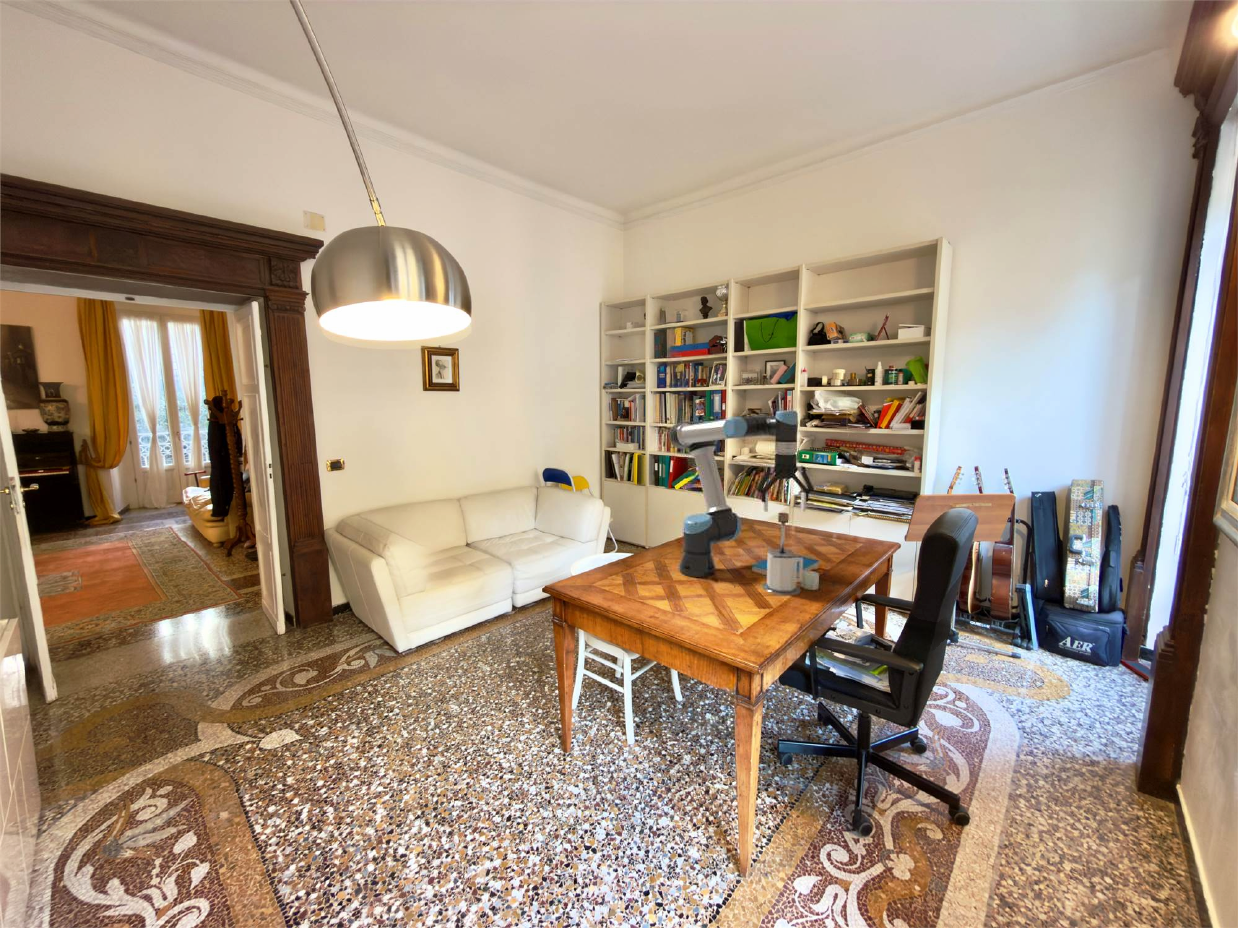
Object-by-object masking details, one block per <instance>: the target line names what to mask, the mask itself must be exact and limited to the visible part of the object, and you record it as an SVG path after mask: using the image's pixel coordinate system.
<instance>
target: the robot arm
mask: <svg viewBox="0 0 1238 928" xmlns="http://www.w3.org/2000/svg"><path fill="white" fill-rule="evenodd" d="M798 415H799V413H798V411H796V410H777V411H776V413H775V415H764V414H757V415H752V416H730V417H728V418H724V419H719V420H718V419H717V420H712V421H704V420H703V421H702V420H698V421H687V422H684V421H683V422H678V423H676V424H673V426H672V427H671V428H670V430H669V431H668V432H669V433H668V440H669V441H670V443H671V445H673V446H674V447H675V448H677V449H683V450H685V449H687V450H688V452H689V455H691V456H692V457H693V458H694V461H695V465H696V466H695V467H696V469H697V473H698V477H699V481H700V485H701V489H702V493H703V497H704V500H705V501H704V502H705V504H706V511H705V513H695V514H690V515H689V516H686V518H684V521H683V527H682V532H683V553H682V556H681V560H680V561H679V565H678V567H679V568H678V569H679V572H680V573H681V574H683V575H685V576H687V577H692V578H705V577H710V576H713V575H715V573H716V571H717V569H716V568H717V567H716V563H715V559H714V557H713V554H712V550H713V549H712V545H715V544H719V543H724V542H730V541H733V540H735V539H736V538H738V537H739V535H740V534H741V531H742V520H741V518H740V517H739V515H738V514H737V513H736V512H733V509H732V507H731V506H729V504H727V501H726V496H725V493H724V489H723V485H722V482H721V481H722V480H721V477H720V474H719V470H718V466H717V465H718V464H717V461H716V458H715V454H714V452H715V450H716V444H717V442H718V441H721V440H729V439H738V438H739V439H740V438H747V437H750V438H751V437H764V436H765V437H767V436H768V437H770V436H771V437H774V439H775V441H774V442H775V443H774V452H775V454H774V466H771V467H770V466H768V465H767V466H765V469H764V470H765V471H764V473H763V475H762V477H761V479H760V481H759V483H758V485H757V487H756V488H755V490H756V491H757V493H760V500H761V502H762V503H763V511H764V512H767V513H768V511H769V510H768V509H769V508H768V507H769V494H768V492H769V490H770V489H771V488H772V487H773V486H774V485H775V483H777V481H778V480H780V479H781V480H791V479H792V480H794V482H795V483H796V484H797V486H798V487H799V488H800V489H801V490H802V492H800V494H801V496H800V510H801V511H802V512H806V508H807V507H806V505H807V504H806V503H808V502H809V495H810V493H811V492H815V489H814V487H813V485H812V482H811V479H810V478H809V476H808V473H807V468H806V467H805V466H804V465H801V466H797V462H798V461H797V459H798V455H797V454H796V453H797V452H798V429H799V416H798ZM773 472H774V474H773V476H772V478H770V480H769V481H768V482H767V480H768V478H769V477H770V474H771V473H773ZM797 472H799V473H800V474H801V476H802V477H801V478H802V479H803V481H804V483H805V485H804V483H803V482H802V481H801V480H800V479H799V477H798V476H797V475H796V473H797Z"/></svg>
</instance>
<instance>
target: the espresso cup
mask: <svg viewBox="0 0 1238 928" xmlns="http://www.w3.org/2000/svg"><path fill="white" fill-rule="evenodd" d="M819 578H820V574H819V573H818V572H817V571H813V570H810V571H803V573H802V582H800V584H801V585H800V586H801V588H803V589H805V590H809V591H816V590H819V581H820V579H819Z"/></svg>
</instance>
